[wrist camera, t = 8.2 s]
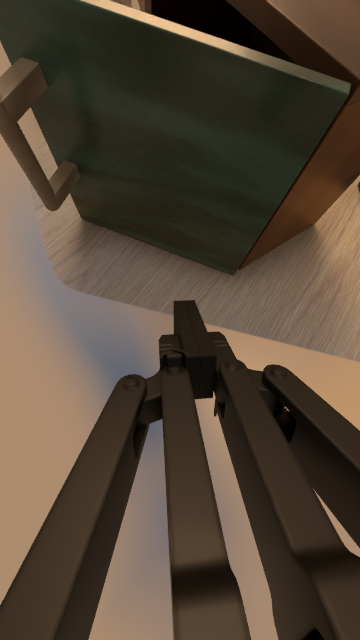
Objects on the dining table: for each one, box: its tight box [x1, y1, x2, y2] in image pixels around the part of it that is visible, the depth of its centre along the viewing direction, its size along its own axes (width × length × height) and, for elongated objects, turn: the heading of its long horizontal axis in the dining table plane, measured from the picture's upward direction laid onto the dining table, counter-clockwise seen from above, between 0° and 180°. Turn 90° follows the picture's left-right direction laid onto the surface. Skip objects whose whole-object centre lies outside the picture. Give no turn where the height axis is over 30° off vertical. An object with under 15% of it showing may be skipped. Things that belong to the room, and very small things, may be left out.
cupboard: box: [145, 0, 360, 270], centre depth 26 cm, size 15×22×20 cm
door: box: [0, 0, 351, 275], centre depth 21 cm, size 6×22×20 cm, turn 69°
